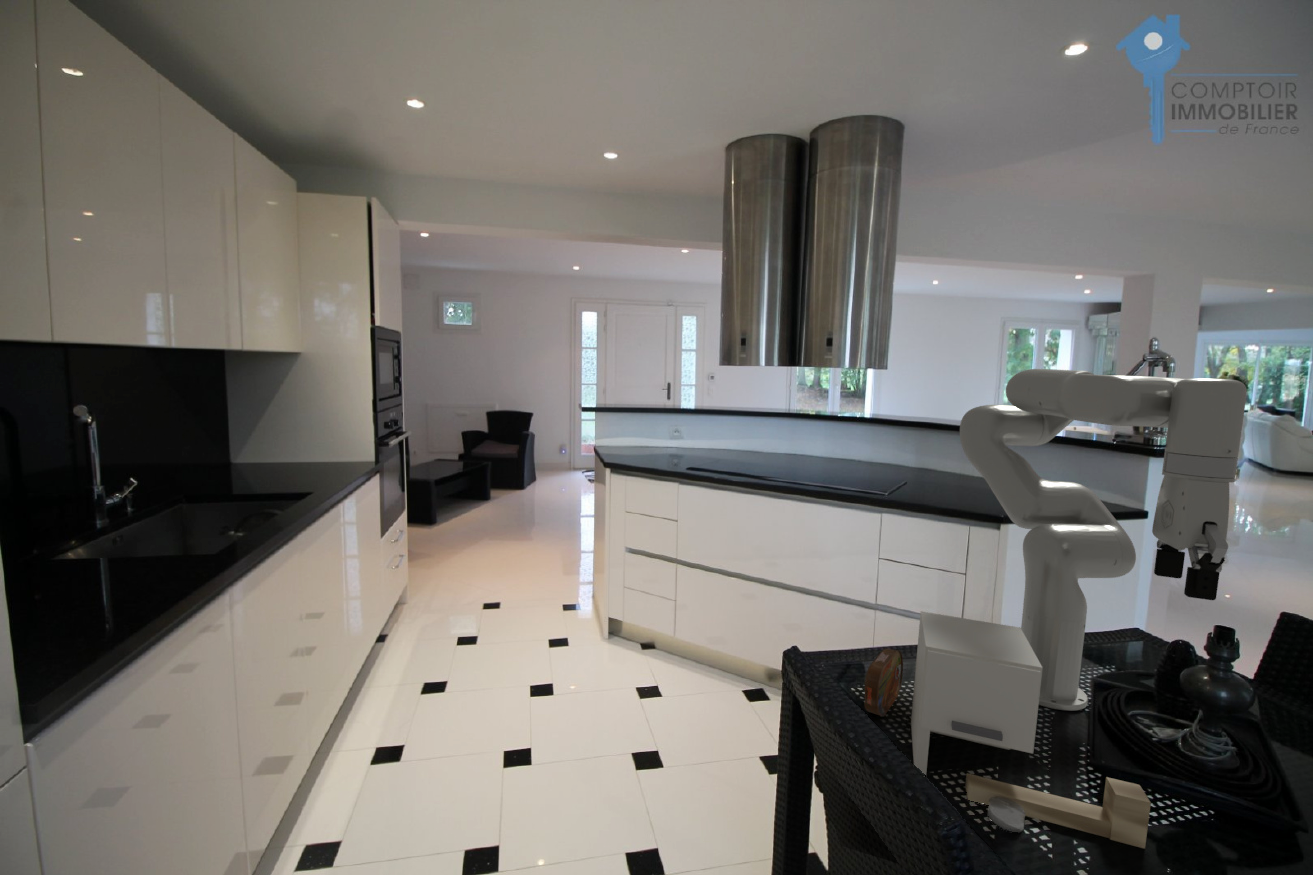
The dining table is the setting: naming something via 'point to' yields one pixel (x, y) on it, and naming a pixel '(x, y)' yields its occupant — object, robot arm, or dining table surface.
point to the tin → (883, 681)
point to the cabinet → (974, 685)
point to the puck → (1006, 814)
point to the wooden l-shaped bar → (1077, 808)
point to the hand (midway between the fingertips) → (1182, 586)
